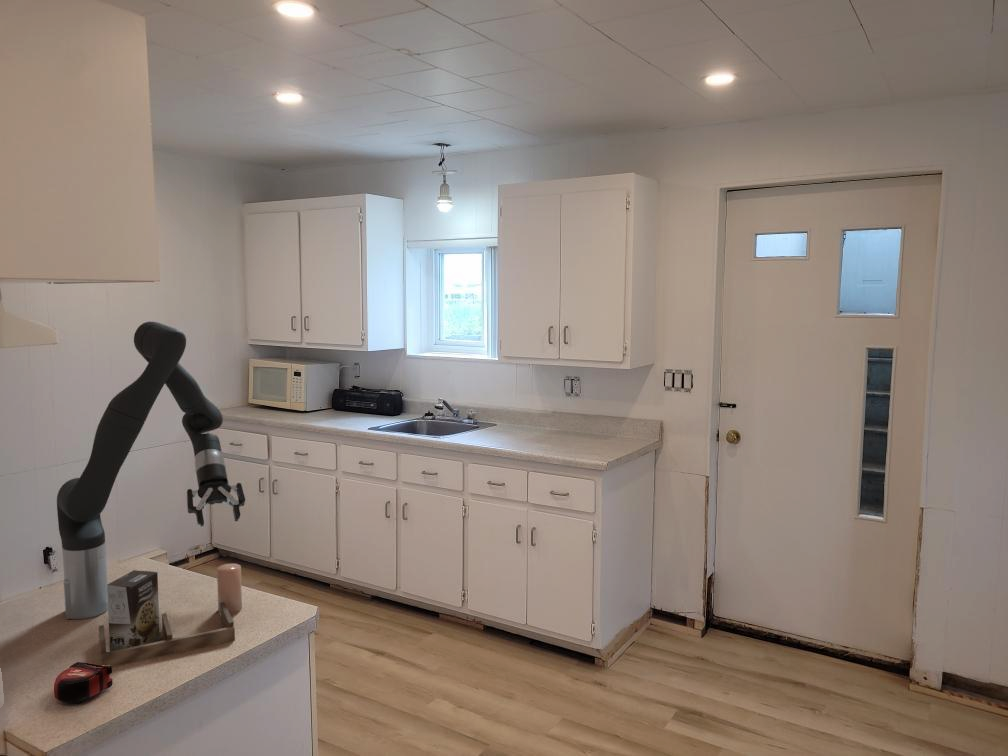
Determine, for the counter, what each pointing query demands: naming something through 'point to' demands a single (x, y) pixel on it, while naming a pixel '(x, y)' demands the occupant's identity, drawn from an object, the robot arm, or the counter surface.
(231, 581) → the pink rounded cylinder
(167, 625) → the wooden rack
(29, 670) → the counter surface
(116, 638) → the coffee box
